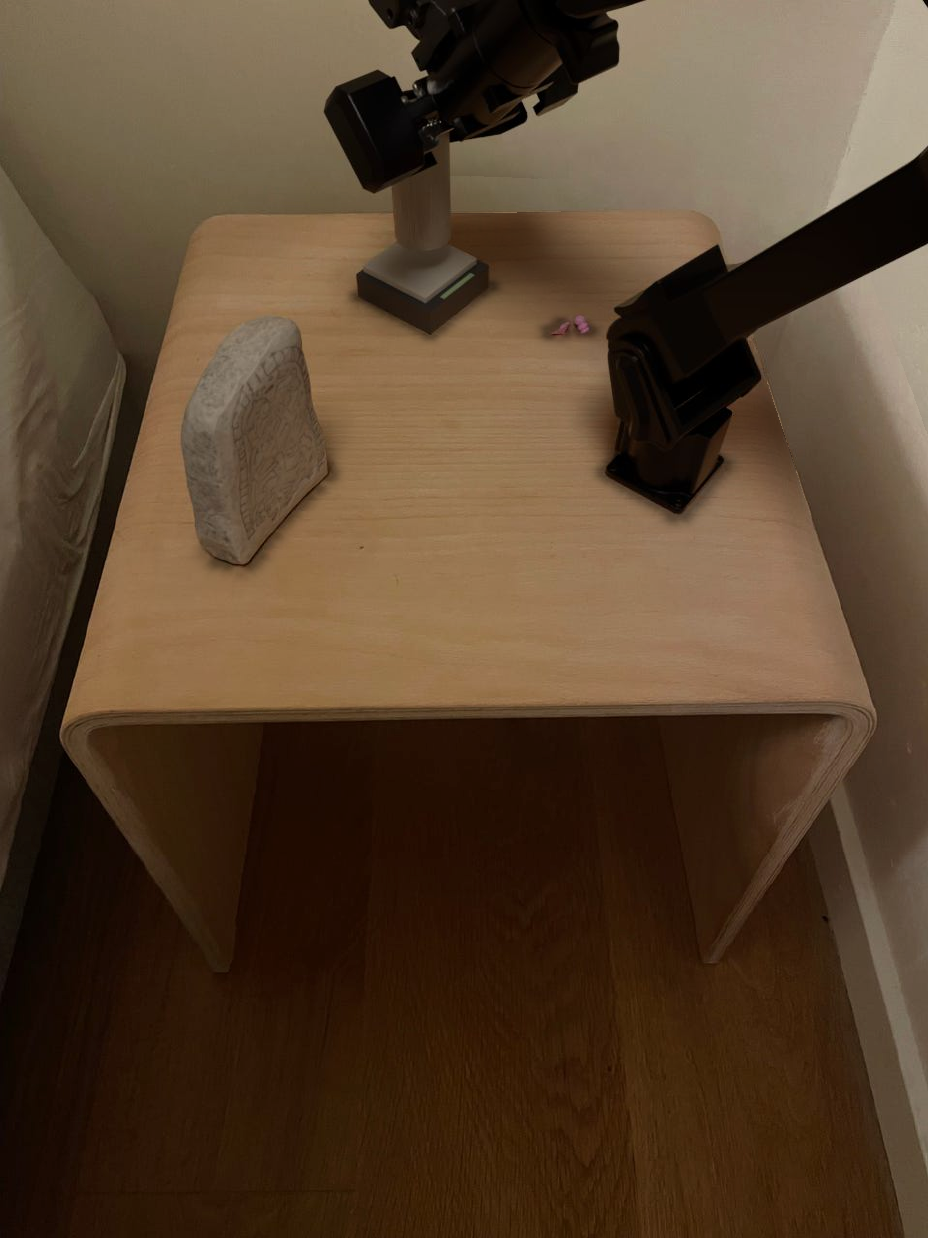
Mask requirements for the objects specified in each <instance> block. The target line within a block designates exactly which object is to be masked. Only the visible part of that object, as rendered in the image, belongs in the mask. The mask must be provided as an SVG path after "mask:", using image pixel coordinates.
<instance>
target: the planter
mask: <svg viewBox="0 0 928 1238" xmlns="http://www.w3.org/2000/svg"><path fill="white" fill-rule="evenodd" d="M402 92H403V94H404V96H406V97H407V98H408V100H413V99H415V98H417V99H419V98H418V97H417V96H416V94H415V92H414V90H413V89H407V90H402ZM426 96H428V94H427V95H426ZM421 98H423V96H422V97H421ZM421 98H420V99H421ZM439 116H440V115H438V116H436V117H433V118H431V119H429V120H428V122H429V121H430V120H432V121H433V120H434V119H435V118H436V119H437V118H438V117H439ZM450 144H451V143H450V136H449V131H448V132H446V133H444V134H442V135H440V136H439V145H438V147H437V148H436V149H435V150H433V151H432V153H433V155H434V157H435V159H436V161H437V164H436V165H435V166H432V167H430V168H428V169H426V170H424V171H422V172H420V173H418V174H415V175H413V176H411V177H408V178H406V179H404V180H402V181H400V182H398V183H396V184H394V185H392V186H390V187H391V199H392V214H393V227H394V237H395V239H396V242H397V241H398V243H399V244H400V245H402V246H403V247H405V248H407V249H410V250H414V251H431V250H435V249H438V248H440V247H442V246H444V245H445V244H448V242H449V241H450V239H451V236H452V205H451V204H452V203H451V201H452V199H451V149H450V147H451V146H450Z"/></svg>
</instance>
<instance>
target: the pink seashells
mask: <svg viewBox="0 0 928 1238" xmlns="http://www.w3.org/2000/svg"><path fill="white" fill-rule="evenodd" d="M585 320H586V319H585V317H584V316H583V315H581V314H579V315H578V316H577V315H576V317H574V320H573V321H574V324H575V325H576V326H577V330H578V331H579V332H580V334H587V333H588V332H589V330H590V327H589V326H588V323H587V322H586V321H585ZM570 323H571V322H570V321H567V322H564V323H563V324H561V325H560V326H559V329H558V330H557V331H554V332H551V333H550V335H565V333H566V330H567V328H568V327H569V324H570Z"/></svg>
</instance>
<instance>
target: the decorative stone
mask: <svg viewBox="0 0 928 1238" xmlns="http://www.w3.org/2000/svg"><path fill="white" fill-rule="evenodd" d="M303 350H304V349H303V338H302V333H301V330H300V328H299V326H298V325H297V322H295V321H294V320H293V319H290V318H289V317H282V316H275V315H261V316H256V317H255V318H253V319H250V320H247V321H245V322H243V323H240V324H239V325H237V327H236V328H234V330H232V331H231V332H230V333H229V334H228V335H227V336H225V337H224V338H223V339H222V341H221V342H220V344H219V346H218V348H217V349H216V352H215V353H214V354H213V357H212V358H211V359H210V361H209V363H208V364H207V366H206V367H205V368H204V371H203V372H202V373H201V376H200V378H199V379H198V381H197V383H196V385H195V387H194V388H193V391H192V393H191V395H190V397H189V399H188V402H187V403H186V405H185V407H184V408H185V409H184V413H183V417H182V421H181V426H180V427H181V429H180V449H181V453H182V459H183V465H184V472H185V479H186V480H185V481H186V487H187V490H188V495H189V498H190V502H191V505H192V512H193V518H194V529H195V533H196V536H197V539H198V541H199V544H200V545H201V546H202V547H203V548H204V550H206V551H207V552H208V553H209V554H210V555H211V556H212V557H215V558H217V559H219V560H221V561H226V562H229V563H230V564H234V565H245V564H248V563H249V562H250V560H251V559H252V558H253V556H254V555H255V554H256V553H257V551H258V550H259V549H260V547H261V546H262V544H263V543H264V542H265V541H266V539H267V538H268V537H269V536H271V534H272V533H274V532H275V531H276V530H277V528H278V526H279V525H280V524H282V523H283V521H284V520H285V518H286V517H287V516H288V515H289V513H290V512H291V511H292V510H293V509H294V508H295V507H296V506H297V504H299V502H301V500H302V499H303V498H304V497H305V496H306V495H307V494H308V493H309V492H310V491H311V490H312V489H313V488H314V487H316V486H317V485H318V484H319V483H320V482H321V481H322V480H323V479H324V478H325V477H326V476H327V475H328V473H329V470H328V459H327V451H326V450H327V449H326V440H325V436H324V433H323V428H322V426H321V424H320V422H319V419H318V416H317V413H316V410H315V405H314V401H313V397H312V385H311V384H312V383H311V378H310V373H309V369H308V365H307V362H306V361H307V360H306V357H305V353H304V351H303Z"/></svg>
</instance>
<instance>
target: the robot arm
mask: <svg viewBox="0 0 928 1238" xmlns="http://www.w3.org/2000/svg"><path fill="white" fill-rule="evenodd" d="M645 1H646V0H368V4H369V5H370V7H371V8H372V9H373V11H374V12H375V13H376V14H377V16H378V17H379V18H380V20H381V21H382V22H383V24H384V25H385V26H386V27H387V29H389V30H394V29H397V28H400V27H406V29H407V30H408V32H410V34H411V35H412V36H413V37H414V39H416V40H417V41H418V43H417V44H416V45H415V46H414V48H413V49H412V50H411V52H410V54H411V56H412V59H413V60H414V63H415V65H416V67H417V69H418V71H419V72H424V71H426V73H427V75H425V76H423V77H420V78H418V79H416V80H415V81H414V82H413V83H412V84H411V88H412V90H414V92H415V94H416V96H417V97H418V98H419V99H417V98H415V99H413V100H408V98H407V97H406V96H404V94H403V92H402V91H403V90H402V87H401V86H400V84H399V81H398V79H397V78H396V76H395V75H393V76H390V75H389V74H387V73H386V72H383V71H382V70H380V69H375V70H373V71H370V72H368V73H365V74H363V75H360V76H358V77H356V78H355V77H354V78H353V79H351V80H347V81H346V82H343V83H341V84H338V85H336V86H335V87H334V88H333V90H331V92H330V94H329V95H328V96H327V98H326V100H325V103H324V108H323V115H324V116H325V118H326V120H327V121H328V124H329V125H330V128H331V130H332V132H333V134H334V135H335V137H336V139H337V141H338V143H339V145H340V147H341V149H342V151H343V153H344V155H345V157H346V158H347V160H348V162H349V164H350V167H351V168H352V170H353V172H354V174H355V177H356V178H357V180H358V182H359V183H360V186H361V188H362V190H365V191H367V192H369V193H371V194H373V195H375V194H377V193H379V192H381V191H384V190H386V189H387V188H390V187H391V186H392V185H394V184H396V183H398V182H400V181H402V180H404V179H406V178H408V177H411V176H413V175H415V174H418V173H420V172H422V171H424V170H426V169H428V168H430V167H432V166H435V165H436V164H437V161H436V159H435V157H434V155H433V153H432V151H433V150H435V149H436V148H437V147H438V145H439V136H440V135H442V134H444V133H446V132H448V131H449V136H450V144H451V143H458V142H460V143H462V142H464V141H469V140H470V141H471V140H475V139H482V138H488V137H495V136H499V135H503V134H504V133H507V132H509V131H511V130H513V129H516V128H518V127H519V126H521V125H523V124H525V123H527V121H528V110H527V109H526V106H525V104H524V102H523V100H525V99H527V98H529V97H531V96H533V95H536V97H537V98H538V100H539V101H537V103H535V104H534V105H533V106H532V110H533V112H534V113H535V116H537V117H540V116H542V115H545V114H547V113H549V112H551V111H553V110H556V109H557V108H560V107H562V106H563V105H565V104H566V103H567V102H569V101H570V100H571V99H573V97H575V96H576V95H577V94H578V93H579V84H581V83H584V82H586V81H588V80H590V79H592V78H595V77H596V76H597V77H598V76H599V75H601V74H603V73H605V72H608V71H610V70H611V69H614V68H617V66H618V65H619V64H620V50H621V48H620V43H619V41H618V31H619V21H617V19H615V18H611V17H610V16H609V15H608V13H610V12H612V11H616V10H620V9H624V8H627V7H630V6H633V5H636V4H639V3H642V2H645ZM922 2H923V3H924V5H925V6H926V8H927V9H928V0H922ZM427 94H428V96H426V95H427ZM422 96H423V98H421V97H422ZM420 98H421V99H420ZM438 115H440V116H439V117H438V118H437V119H436V118H435V119H434V120H433V121H432V120H430V121H429V122H428V120H429V119H431V118H433V117H436V116H438ZM927 245H928V145H927V146H925V148H924V149H923V150H922V151H921V152H920V153H918V155H916V156H915V157H914V158H913V159H911V160H910V161H908V162H907V163H905V164H903V165H901V166H900V167H898V168H897V169H895V170H893V171H891V172H890V173H888V174H887V175H885V176H883V177H882V178H880V179H878V180H876V181H875V182H873V183H872V184H870V185H869V186H866V187H865V188H863V189H862V190H860V191H859V192H857V193H855V194H854V195H852V196H851V197H849V198H847V199H846V200H844V201H842V202H841V203H839V204H837V205H836V206H834V207H833V208H831V209H829V210H828V211H825V212H823V213H822V214H820V215H819V216H817V217H815V218H814V219H813V220H810V221H809V222H808V223H805V224H804V225H802V226H801V227H799V228H797V229H796V230H794V231H793V232H791V233H789V234H788V235H786V236H784V237H782V238H781V239H780V240H778V241H777V242H775V243H773V244H771V245H770V246H768V247H766V248H764V249H763V250H762V251H759V252H758V253H757V254H755V255H753V256H752V257H750V258H748V259H747V260H744V261H742V262H737V263H728V264H727V263H726V261H725V258H724V256H723V252H722V250H721V247H720V245H719V243H717V244H715V245H714V246H712V247H710V248H708V249H707V250H705V251H704V252H702V253H700V254H699V255H697V256H695V257H693V258H692V259H690V260H689V261H687V262H686V263H684V264H682V265H680V266H679V267H676V268H675V269H673V270H672V271H670V272H669V273H667V274H666V275H664V276H662V277H660V278H659V279H657V280H655V281H654V282H653V283H652V284H651V285H649V286H648V287H646V288H644V289H642V290H641V291H640V292H638V293H636V294H634V295H633V296H631V297H630V298H628V299H626V300H625V301H623V302H621V303H620V304H618V305H616V306H615V307H613V312H614V313H615V314H616V315H618V318H617V319H615V320H614V321H612V323H611V324H610V325H609V326H608V328H607V331H606V333H605V339H606V340H607V367H608V374H609V382H610V389H611V396H612V405H613V411H614V415H615V417H616V418H617V419H619V421H618V425H617V431H616V435H615V441H614V445H613V449H614V451H615V452H616V453H617V454H616V455H615V456H614V457H613V458H612V459H611V461H609V462H608V464H607V465H606V467H605V474H606V476H608V477H610V478H611V479H613V480H615V481H617V482H618V483H621V484H622V485H624V486H626V487H628V488H630V489H631V490H634V491H635V492H637V493H639V494H641V495H643V496H644V497H646V498H647V499H650V500H652V501H653V502H655V503H657V504H659V505H661V506H662V507H665V508H666V509H668V510H670V511H672V512H674V513H676V514H681V513H683V512H684V511H686V509H687V508H688V507H689V506H690V505H691V504H692V502H693V501H694V499H696V498H697V497H698V495H699V494H700V493H701V491H703V489H704V488H705V487H706V486H707V484H708V483H709V482H710V481H711V480H712V479H713V478H714V476H715V475H716V474H717V473H718V472H719V470H721V468H722V467H723V465H724V463H725V458H724V456H723V455H722V454H720V452H721V449H722V446H723V443H724V441H725V437H726V435H727V432H728V429H729V426H730V423H731V420H732V418H733V414H734V411H733V410H732V409H731V408H729V407H730V406H731V405H733V404H734V403H735V402H736V401H738V400H739V399H742V398H744V397H746V396H747V395H748V394H750V392H751V391H753V389H754V388H755V387H756V386H757V385H758V384H759V383H760V382H761V381H762V377H763V375H762V372H761V370H760V369H759V366H758V363H757V361H756V359H755V356H754V354H753V351H752V349H751V346H750V344H749V342H748V338H749V337H751V336H752V335H753V334H754V333H756V332H757V331H758V329H761V328H763V327H764V326H766V325H768V324H769V325H770V324H771V323H772V322H775V321H777V320H779V319H781V318H783V317H784V316H786V315H789V314H790V313H793V312H795V311H796V310H799V309H801V308H803V307H804V306H807V305H808V304H811V303H812V302H815V301H817V300H819V299H820V298H823V297H824V296H827V295H828V294H831V293H832V292H835V291H836V290H839V289H841V288H843V287H845V286H847V285H848V284H851V283H853V282H855V281H857V280H859V279H861V278H863V277H865V276H867V275H869V274H871V273H873V272H875V271H876V270H879V269H881V268H883V267H885V266H887V265H889V264H891V263H893V262H894V261H897V260H899V259H901V258H903V257H904V256H907V255H909V254H911V253H913V252H915V251H917V250H919V249H922V248H923V247H925V246H927Z"/></svg>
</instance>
